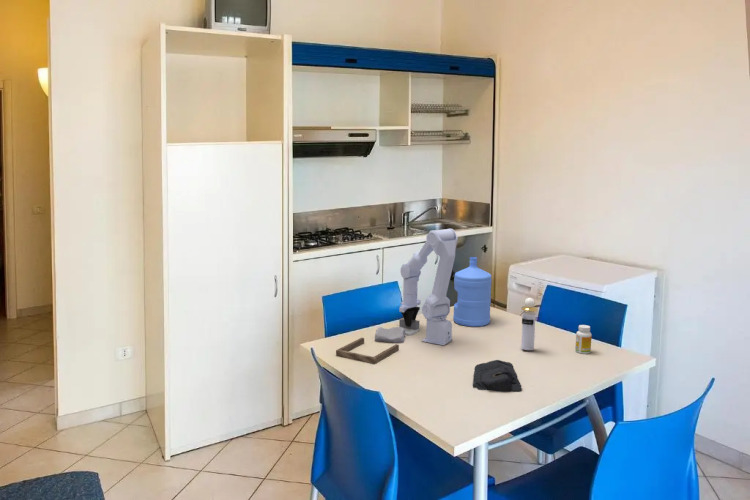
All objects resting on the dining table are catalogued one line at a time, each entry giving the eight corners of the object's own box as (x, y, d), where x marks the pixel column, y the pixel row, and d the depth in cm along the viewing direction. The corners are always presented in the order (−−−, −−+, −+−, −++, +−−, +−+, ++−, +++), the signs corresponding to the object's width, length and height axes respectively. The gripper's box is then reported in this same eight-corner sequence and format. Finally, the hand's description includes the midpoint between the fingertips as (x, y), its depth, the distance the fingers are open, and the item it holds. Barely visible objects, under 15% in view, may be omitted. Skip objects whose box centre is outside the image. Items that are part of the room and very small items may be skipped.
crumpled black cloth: (518, 369, 218) (518, 356, 217) (522, 394, 196) (522, 380, 195) (473, 366, 220) (473, 353, 219) (472, 391, 199) (472, 377, 198)
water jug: (497, 321, 272) (499, 257, 267) (476, 329, 261) (478, 262, 256) (467, 314, 282) (469, 252, 277) (445, 322, 271) (447, 257, 266)
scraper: (419, 330, 259) (419, 320, 258) (409, 336, 252) (409, 325, 252) (402, 327, 263) (402, 317, 263) (392, 332, 256) (392, 322, 256)
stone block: (404, 348, 244) (405, 335, 253) (404, 337, 242) (405, 324, 251) (373, 348, 245) (375, 335, 254) (373, 337, 243) (375, 324, 252)
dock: (398, 350, 236) (398, 344, 235) (374, 364, 221) (374, 358, 221) (361, 342, 244) (361, 337, 244) (336, 355, 230) (336, 350, 229)
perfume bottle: (521, 346, 240) (523, 295, 236) (536, 348, 237) (539, 296, 234) (518, 351, 234) (520, 298, 231) (533, 353, 232) (536, 300, 228)
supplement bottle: (593, 351, 234) (594, 326, 233) (586, 355, 230) (588, 329, 229) (579, 348, 238) (580, 323, 236) (572, 351, 234) (574, 326, 232)
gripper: (410, 288, 265) (409, 319, 268) (392, 295, 253) (392, 328, 256) (425, 290, 262) (424, 321, 264) (408, 297, 250) (408, 330, 252)
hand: (409, 325), depth 260 cm, fingers closed on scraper, 2 cm apart
